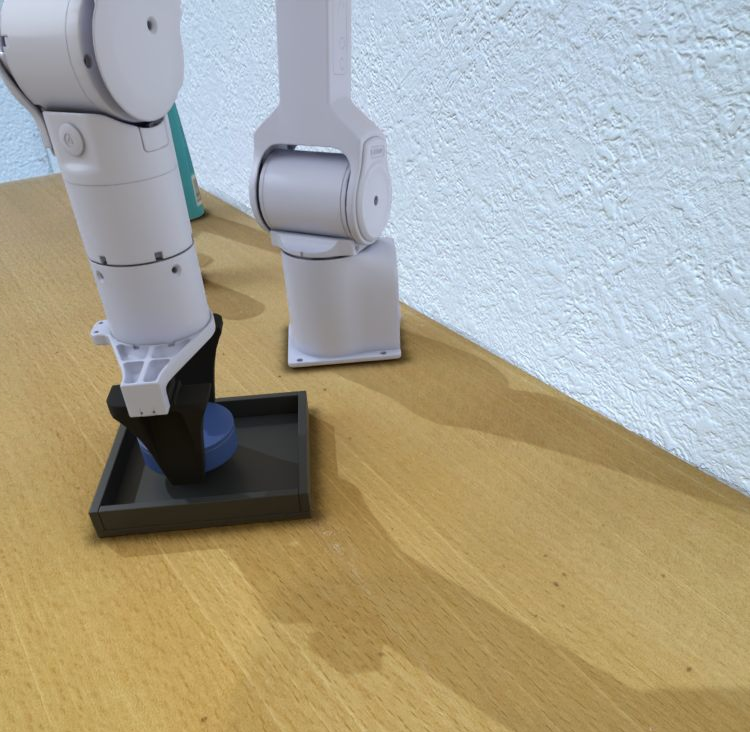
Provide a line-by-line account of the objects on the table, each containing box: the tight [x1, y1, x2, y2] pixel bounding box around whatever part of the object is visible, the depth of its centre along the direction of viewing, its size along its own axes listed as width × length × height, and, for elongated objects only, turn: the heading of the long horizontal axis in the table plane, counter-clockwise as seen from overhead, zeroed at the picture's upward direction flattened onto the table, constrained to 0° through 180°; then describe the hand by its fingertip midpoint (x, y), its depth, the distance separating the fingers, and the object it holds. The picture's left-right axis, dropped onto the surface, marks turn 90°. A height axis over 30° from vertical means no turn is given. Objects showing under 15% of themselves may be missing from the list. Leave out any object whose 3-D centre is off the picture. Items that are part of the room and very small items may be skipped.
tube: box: [167, 101, 205, 221], centre depth 85 cm, size 7×5×19 cm, turn 31°
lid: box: [137, 402, 238, 475], centre depth 46 cm, size 6×6×2 cm
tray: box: [88, 390, 313, 538], centre depth 47 cm, size 13×12×2 cm
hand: (194, 450), depth 47 cm, fingers closed on lid, 6 cm apart
